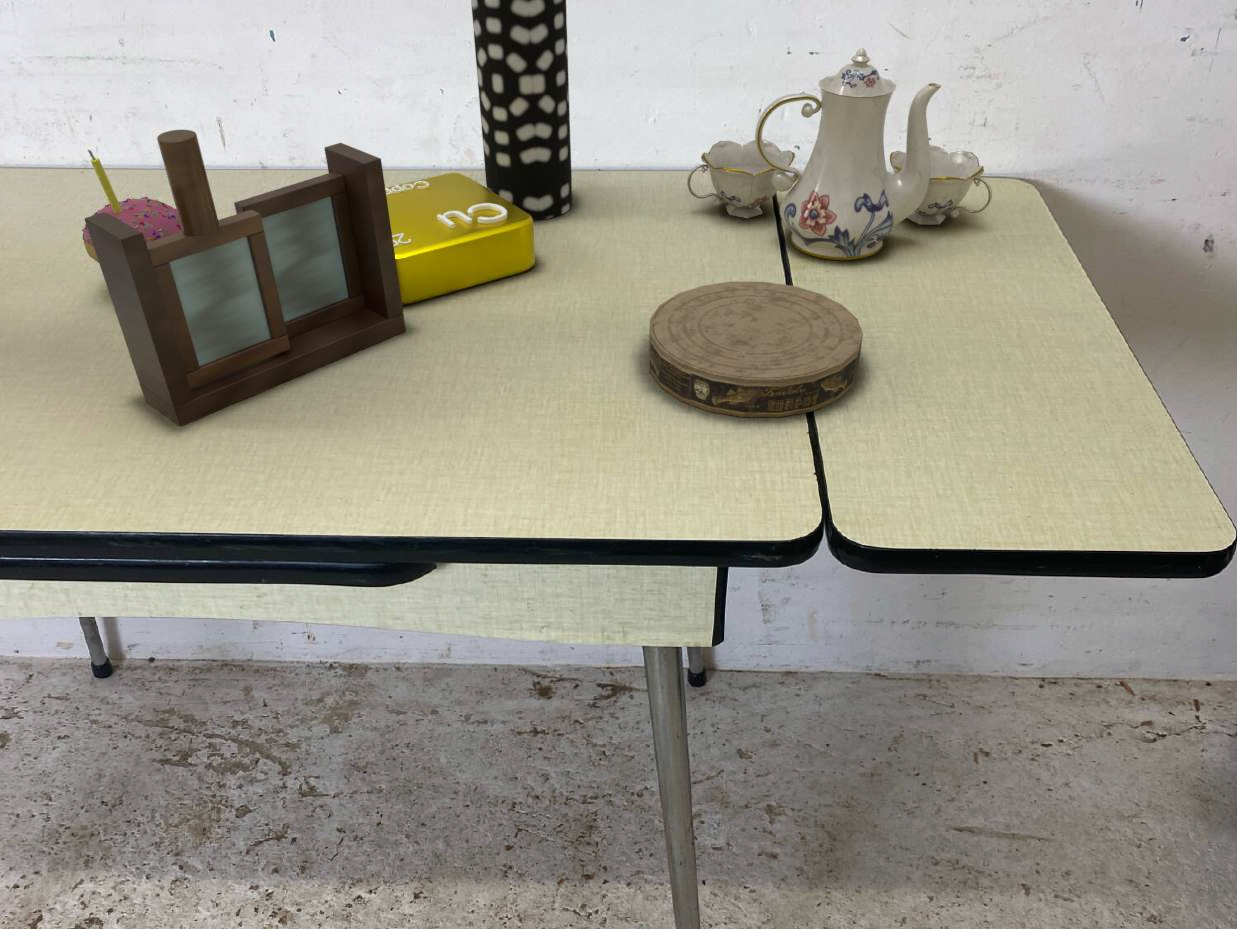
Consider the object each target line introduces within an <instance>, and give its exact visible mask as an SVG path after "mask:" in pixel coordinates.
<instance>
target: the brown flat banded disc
mask: <svg viewBox="0 0 1237 929" xmlns="http://www.w3.org/2000/svg"><path fill="white" fill-rule="evenodd" d="M862 330H863V329H862V327H861V324H860V322H859V319H858V318H857V317H856V316H855V315H854V314H853V313H852V312H851V311H850V310H849V309H847V307H846V306H845V305H843V304H841V303H839V302H838V301H835V300H834V299H832V298H830V297H828V296H825V295H824V294H822V293H819V292H815V291H813V290H810V289H805V288H802V287H799V286H795V285H792V284H791V285H789V284H782V283H774V282H768V281H725V282H719V283H712V284H705V285H701V286H698V287H694V288H691V289H688V290H685V291H682V292H679V293H677V294H674V295H673V296H672V297H670V298H669V299H667V300H666V301H664V302H663V303H661V304H659V306H657V308H656V309H655V311H654V313H653V314H652V315H651V317H650V319H649V341H648V342H649V344H648V346H649V349H648V351H649V352H648V353H649V354H648V358H649V359H648V361H649V362H648V363H649V373H650V374H651V376H652V377H653V379H654V380H655V381H656V383H657V384H658V386H659V387H660V388H661V389H663V390H665V391H666V392H667V393H669V395H671V396H673V397H675V399H677V400H679V401H680V402H682V403H686V404H688V405H690V406H693V407H696V408H698V409H702V410H705V411H707V412H710V413H716V414H723V415H728V416H733V417H740V418H782V417H788V416H789V417H790V416H795V415H799V414H805V413H811V412H813V411H815V410H818V409H820V408H823V407H825V406H827V405H830V404H833V403H835V402H837V401H838V400H839V399H840V398H841V397H842V396H844V395H845V394H846V393H847V392H848V391H849V390H851V389H852V388H853V385H854V382H855V379H856V376H857V373H858V369H859V363H860V355H861V349H862V344H863V339H864V338H863V337H864V333H863V331H862Z"/></svg>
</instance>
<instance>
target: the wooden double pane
mask: <svg viewBox="0 0 1237 929" xmlns="http://www.w3.org/2000/svg"><path fill="white" fill-rule="evenodd" d="M323 149H324V154H325V160H326V166H327V171H328V173H325V174H322V175H319V176H315V177H311V178H309V179H306V180H302V181H299V182H296V183H293V184H290V185H286V186H283V187H280V188H277V189H274V190H269V191H267V192H263V193H261V194H258V195H253V196H251V197H248V198H247V197H246V198H244V199H241V200H238V201H234V203H233V205H234V209H235V214H239V213H242V212H245V211H248V210H253V211H255V212H257V213H259V214H260V215H261V219H262V223H263V228H264V233H265V237H266V241H267V246H268V250H269V255H270V259H271V264H272V268H273V273H274V277H275V281H276V286H277V290H278V295H279V299H280V304H281V308H282V313H283V317H284V322H285V326H286V330H287V335H288V339H289V344H290V349H289V350H286V351H284V352H281V353H279V354H276V355H274V356H271V357H269V358H266V359H264V360H262V361H259V362H257V363H254V364H252V365H249V366H247V367H244V368H242V369H239V370H237V371H234V372H232V373H229V374H227V375H225V376H222V377H220V378H217V379H215V380H212V381H210V382H207V383H205V384H202V385H200V386H197V387H195V388H192V389H190V388H189V385H188V381H187V378H186V375H185V371H184V368H183V365H182V361H181V358H180V355H179V351H178V348H177V345H176V342H175V338H174V335H173V332H172V328H171V325H170V322H169V318H168V315H167V312H166V308H165V305H164V302H163V298H162V295H161V292H160V288H159V285H158V282H157V278H156V275H155V272H154V268H153V265H152V262H151V258H150V255H149V252H148V248H147V245H146V242H145V238H144V235H143V233H142V232H140V231H139V230H137V229H135V228H133V227H132V226H130V225H128V224H126V223H124V222H123V221H121V220H119V219H117V218H115V217H114V216H112V215H110V214H108V213H107V212H104V213H100V214H97V215H93V214H92V215H93V216H92V215H90V216H86V217H84V222H85V224H86V225H87V228H88V231H89V234H90V237H91V240H92V243H93V246H94V249H95V252H96V255H97V258H98V261H99V263H98V264H99V267H100V270H101V273H102V276H103V278H104V282H105V284H106V285H105V286H106V288H107V292H108V293H109V297H110V300H111V303H112V306H113V309H114V312H115V315H116V318H117V320H118V324H119V327H120V329H121V333H122V336H123V339H124V342H125V344H126V347H127V350H128V351H127V352H128V354H129V356H130V359H131V363H132V365H133V369H134V371H135V374H136V378H137V380H138V383H139V388H140V389H141V390H140V391H141V393H142V396H143V398H144V401H145V402H146V404H148V405H150V406H151V407H152V408H153V409H155V410H157V411H158V412H159V413H160V414H163V416H165V417H166V418H168V419H169V420H170V421H172V422H173V423H174V424H176V425H177V426H179V427H181V426H184V425H186V424H190V423H191V422H194V421H196V420H198V419H200V418H203V417H205V416H208V415H210V414H213V413H214V412H218V411H220V410H222V409H225V408H226V407H229V406H231V405H233V404H236V403H238V402H240V401H243V400H246V399H248V398H250V397H253V396H255V395H258V394H260V393H262V392H264V391H266V390H269V389H271V388H274V387H276V386H278V385H281V384H284V383H286V382H289V381H290V380H293V379H295V378H298V377H300V376H302V375H305V374H307V373H309V372H311V371H314V370H317V369H319V368H321V367H323V366H325V365H328V364H331V363H333V362H335V361H338V360H340V359H342V358H345V357H347V356H350V355H352V354H354V353H357V352H359V351H362V350H364V349H367V348H369V347H370V346H373V345H375V344H378V343H380V342H382V341H385V340H388V339H390V338H393V337H395V336H397V335H400V334H401V333H404V332H406V331H407V329H406V322H405V321H406V320H405V315H404V307H403V305H402V300H401V293H400V287H399V280H398V273H397V266H396V259H395V252H394V245H393V238H392V231H391V225H390V218H389V211H388V204H387V197H386V190H385V187H386V184H385V183H386V182H385V178H384V170H383V165H382V164H383V163H382V158H380V157H378V156H376V155H373V154H370V153H367V152H366V151H363V150H361V149H357V148H355V147H353V146H350V145H347V144H345V143H343V142H338V143H335V144H332V145H328V146H324V148H323Z"/></svg>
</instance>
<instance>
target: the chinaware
mask: <svg viewBox="0 0 1237 929" xmlns="http://www.w3.org/2000/svg"><path fill="white" fill-rule="evenodd" d="M870 61H871V58H870V57H869V55H868V53H867V51H866V49H865V48H863V47H861V48H859V49H858V50H857V51H856V53H855V54H854V55H853V56H852V57H851V62H852V63H848V64H846V65H844V66H842V67H841V68H840V69H839V71H838V73H837V74H834V75H827V76H825V77H824V78H822V79H819V81H818V87H819V88H820V98H821V99H819V98H818V97H817V96H816V95H814V94H812V93H807V92H805V93H801V92H799V93H790V94H786V95H782V96H780V97H778V98H776V99H775V100H773V101H771V103H770V104H769V105H767V106H766V107H765V109H764V110H763V112H762V113H761V115H760V116H759V118H758V121H757V123H756V127H755V134H754V140H751V141H748V142H747V143H744V144H740V143H737V142H735V141H732V140H720V141H718V142H716V143H714V144H712V146H711V148H710V149H709V151H708V152H702V155H701V156H700V159H701V162H702V163H703V164H702V163H701V164H697V165H695V166H694V167H693V168H692V169H691V170H690V172H689V174H688V177H687V182H686V183H687V189H688V191H689V193H690V194H691V195H692V196H693V197H695V198H696V199H700V200H702V199H706V198H708V197H715V198H716V199H715V200H714V203H713V205H714V206H715V207H720V206H721V205H722V204H723V202H725V203H727V204H728V205H726V206H725V208H726V212H727V213H728V215H729V216H734V217H738V218H745V219H749V218H753V217H757V216H759V215H763V211H762V208H760V206H762V205H764V204H766V203H767V202H768V201H770V200H772V198H773V197H775V195H776V194H777V192H778V191H779V192H781V193H782V192H783V193H784V192H787V194H786V195H785V197H784V198H783V200H782V202H781V204H780V206H779V215H780V218H781V219H782V221H783V223H784V225H785V226H786V228H788V229H789V230H790V231H791V234H790V243H791V244H792V245H793V247H795V249H797V250H798V251H800V252H801V253H803V254H805V255H809V256H812V257H814V258H815V257H816V258H819V259H824V260H831V261H853V260H861V259H865V258H868V257H871V256H874V255H876V254H877V253H879V252H880V251H881V250H882V248H883V247H884V241H883V240H884V239H885V238H886V237H887V236H888V235H890V233H891V232H892V230H893V228H894V227H896V226H897V225H899V224H900V223H901V222H903V221H904V220H905V219H908V220H910V221H911V222H914V223H916V224H917V225H941V223H943V221H944V220H945V219H946V215H945V213H947V212H949V216H950V217H951V218H953V219H956V218H958V217H959V215H960V213H959V210H958V209H960V210H963V211H965V212H967V213H970V214H979V213H981V212H983V211H985V210H986V209H987V208H988V206H989V205H990V204H991V201H992V198H993V190H992V186H991V184H990V183H989V182H988V181H987V180H986V179H984V178H983V177H982V178H981V176H982V175H983V174H984V172H985V168H984V165H980V161H979V157H978V156H977V155H975V154H974V153H973V152H972V151H966V150H960V151H953V152H950V153H949V151H946V150H945V149H943V148H941V147H940V146H937V145H932V144H930V138H929V129H928V120H927V109H928V104H929V103H930V100H931V99H932V97H934V95H935V94H936V93H937V92H938V91H939V90H940V88H942V85H941V84H939V83H937V82H935V83H934V82H931V83H928V84H926V85H925V86H924V87H922V88H921V89H920V90H919V91H918V92H916V94H915V96H914V97H913V99H912V102H911V103H910V107H909V111H908V116H907V126H906V143H905V144H906V145H905V149H906V150H905V152H904V151H901V150H896V151H892V152H890V154H889V164H890V166H891V169H892V170H893V173H891V172H889V171H888V170H887V166H886V156H885V144H884V141H885V140H884V138H885V137H884V136H885V135H884V134H885V125H886V124H885V123H886V117H887V111H888V107H889V105H890V101H891V99H892V97H893V94H894V92H895V91H896V90H897V84H896V83H894V82H893V81H892V80H891V79H887V78H884V77H882V76H880V73H879V70H878V69H877V68H876V67H875V66H874V65H872V64H869V62H870ZM801 101H811V102H813V103H815V105H816V106H815V108H813V105H812V104H811V103H810V102H806V103H804V104H803V106H802V108H801V112H800V113H801V115H802V117H803V118H806V119H809V118H811V117H812V116H813V115H815V114H817V113H819V112H820V111H821V112H820V120H819V126H818V132H817V136H816V140H815V143H814V145H813V148H812V151H811V154H810V155H809V159H808V161H807V163H806V165H805V167H804V168H803V171H802V173H801V172H800V170H799V169H798V168H796V167H794V166H791V165H792V163H793V162H794V161H795V158H796V153H795V152H793V151H792V150H781V149H780V148H779V147H778V145H776V144H775V143H774V142H771V141H768V140H766V139H763V130H764V127H765V124H766V122H767V120H768V118H769V117H770V115H772V114H773V113H774V111H776V110H777V109H778V108H779V107H781V106H783V105H785V104H788V103H793V102H801ZM698 169H701V173H702V174H705V173H706V171H707V170H708V171H709V175H710V179H711V183H712V186H713V188H714V191H715V192H716V193H715V192H709V193H707V194H701V195H700V194H697V193H696V192H695V191H694V190H693V189H692V186H691V179H692V176H693V174H694V173H695V172H696V171H697V170H698ZM787 173H791V174H793V176H792V177H791V176H790V175H789V174H787ZM981 183H982V184H984V186H985V187H986V189H987V193H988V198H987V201H986V203H985V204H984V205H983V206H982V207H980V208H978V209H971V208H968V207H967V206H965V205H959V204H960V203H961V202H962V201H963V200H964V198H965V197H966V195H967V194H968V192H969V191H970V188H971V186H972V185H973V184H974V185H975V187H976V188H977V187H979V186H980V185H981Z"/></svg>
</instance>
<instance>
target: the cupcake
mask: <svg viewBox="0 0 1237 929" xmlns="http://www.w3.org/2000/svg"><path fill="white" fill-rule="evenodd" d="M87 152H88V153H89V155H90V158H91V159H90V163H91V165H92V167H93V169H94V172H95V174H96V176H97V179H98V180H99V182H100V185H101V187H102V189H103V191H104V194H105V196H106V198H107V200H108V202H109V203H108V204H105V205H104V207H103V208H100V209H98V210H97V211H96V212H94V213H93V214H92V215H91V216H93V215H97V214H100V213H104V212H107V213H108V214H110V215H112V216H114V217H115V218H117V219H119V220H121V221H123V222H124V223H126V224H128V225H130V226H132V227H133V228H135V229H137V230H139V231H140V232H142V233H143V235H144V238H145V242H146V243H148V242H151V241H154V240H157V239H160V238H163V237H167V236H170V235H173V234H176V233H179V232H182V228H181V224H180V220H179V217H178V213H177V209H176V208H174V207H173V206H171V205H168V204H167V203H164V202H162V201H159V200H158V199H153V198H149V197H147V196H144V197H140V198H134V197H133V198H129V197H128V198H126V199H125V200H122V201H119V200H118V198H117V195H116V194H115V191H114V189H113V187H112V185H111V182H110V180H109V178H108V176H107V173H106V172H105V169H104V167H103V165H102V162H101V160H100V158H99V157H95V156H94V154H93V152H92V150H91V149H87ZM81 231H82V240H83V244H84V248H85V250H86V253H87V254H88V256H89V257H90V258H91V259H93V260H94V261H95V262H97V263H98V264H99V261H98V258H97V255H96V252H95V249H94V246H93V243H92V240H91V237H90V234H89V231H88V228H87V225H86V223H84V227H83V228H82V230H81Z"/></svg>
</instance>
